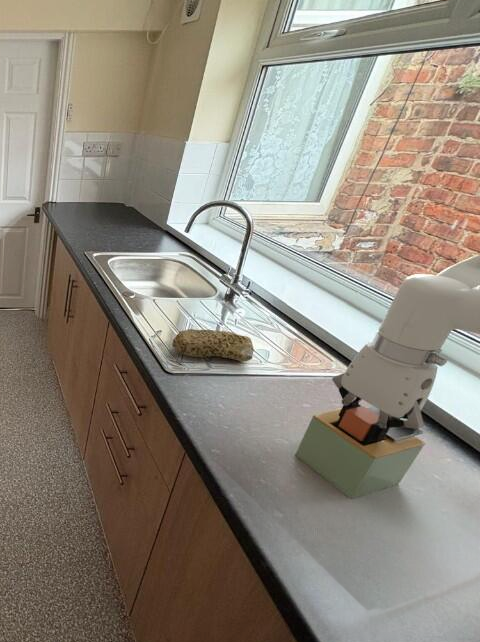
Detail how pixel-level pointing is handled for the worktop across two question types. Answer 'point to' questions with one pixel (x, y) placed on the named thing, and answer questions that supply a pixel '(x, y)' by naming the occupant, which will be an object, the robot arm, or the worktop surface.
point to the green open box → (355, 456)
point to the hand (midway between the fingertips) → (358, 430)
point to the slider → (398, 429)
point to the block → (358, 421)
